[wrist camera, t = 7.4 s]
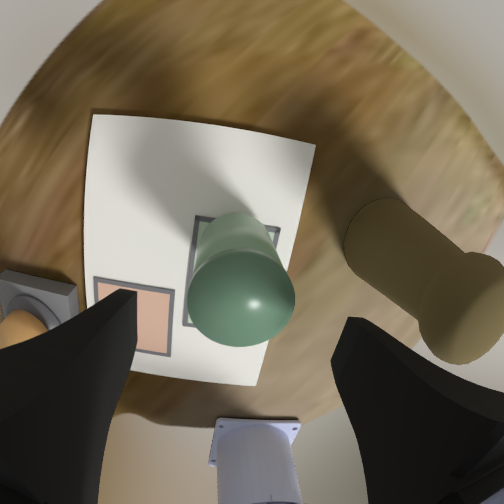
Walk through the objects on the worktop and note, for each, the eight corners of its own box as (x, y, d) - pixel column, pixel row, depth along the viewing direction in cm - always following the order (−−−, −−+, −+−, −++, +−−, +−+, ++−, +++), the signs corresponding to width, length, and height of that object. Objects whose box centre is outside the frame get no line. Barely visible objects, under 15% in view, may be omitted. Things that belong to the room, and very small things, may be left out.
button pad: (86, 359, 21) (78, 374, 19) (21, 340, 20) (11, 352, 18) (76, 285, 19) (65, 298, 17) (6, 269, 18) (-7, 279, 16)
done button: (58, 364, 18) (49, 380, 16) (14, 350, 17) (4, 364, 16) (47, 317, 16) (36, 332, 15) (2, 303, 16) (-11, 316, 14)
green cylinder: (264, 276, 19) (283, 349, 12) (197, 270, 18) (185, 342, 12) (275, 212, 17) (305, 260, 11) (203, 203, 17) (189, 248, 10)
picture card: (254, 380, 23) (255, 387, 22) (96, 357, 21) (93, 363, 20) (313, 144, 17) (316, 145, 16) (97, 114, 15) (92, 114, 14)
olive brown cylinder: (414, 188, 18) (540, 244, 8) (420, 266, 21) (516, 349, 10) (336, 211, 18) (445, 296, 8) (350, 291, 21) (429, 404, 10)
